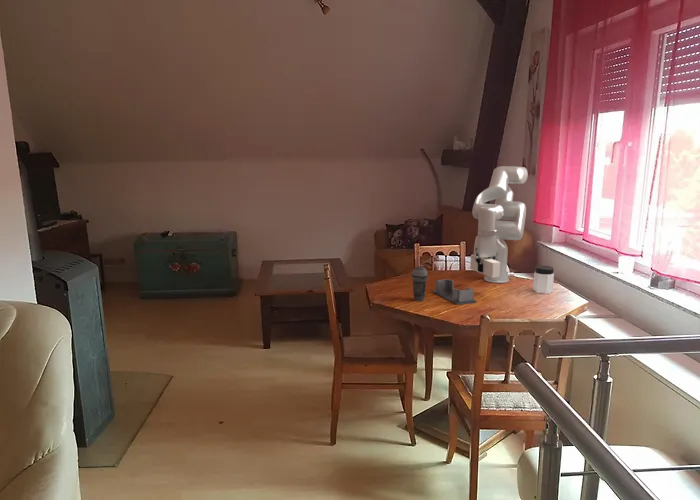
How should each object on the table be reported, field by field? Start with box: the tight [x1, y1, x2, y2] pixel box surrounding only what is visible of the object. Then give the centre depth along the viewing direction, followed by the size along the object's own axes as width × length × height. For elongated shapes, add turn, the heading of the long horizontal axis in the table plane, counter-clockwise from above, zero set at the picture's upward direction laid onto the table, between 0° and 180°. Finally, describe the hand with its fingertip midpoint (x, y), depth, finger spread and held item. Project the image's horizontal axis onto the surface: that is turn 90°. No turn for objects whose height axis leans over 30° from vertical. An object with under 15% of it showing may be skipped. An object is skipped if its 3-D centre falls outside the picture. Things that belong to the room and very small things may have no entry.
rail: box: [469, 254, 500, 278], centre depth 249 cm, size 4×17×7 cm, turn 23°
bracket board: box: [432, 278, 477, 306], centre depth 245 cm, size 10×22×6 cm, turn 20°
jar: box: [532, 265, 555, 295], centre depth 254 cm, size 9×8×12 cm
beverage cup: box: [411, 256, 428, 302], centre depth 239 cm, size 7×7×20 cm
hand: (484, 270), depth 249 cm, fingers closed on rail, 4 cm apart
